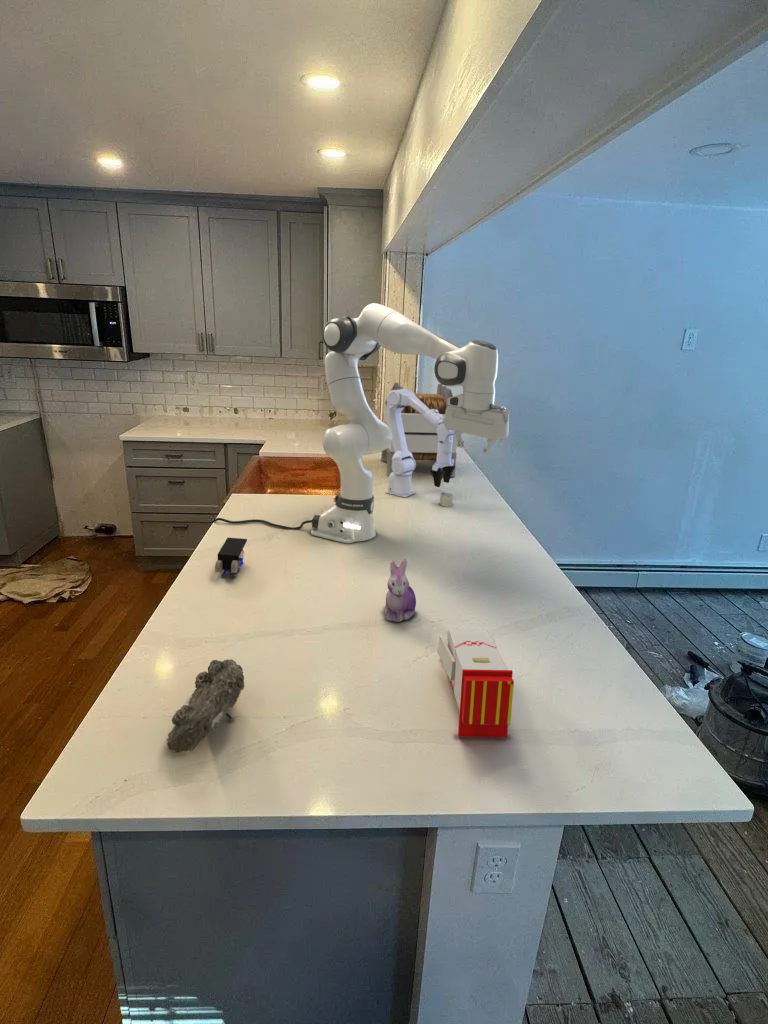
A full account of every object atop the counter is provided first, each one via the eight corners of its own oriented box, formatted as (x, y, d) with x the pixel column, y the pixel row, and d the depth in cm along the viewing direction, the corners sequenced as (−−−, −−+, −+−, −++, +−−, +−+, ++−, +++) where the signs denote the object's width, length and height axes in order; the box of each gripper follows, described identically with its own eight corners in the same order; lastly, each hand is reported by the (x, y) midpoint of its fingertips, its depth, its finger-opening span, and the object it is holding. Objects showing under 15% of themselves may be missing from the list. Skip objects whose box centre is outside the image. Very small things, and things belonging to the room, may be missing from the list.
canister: (448, 507, 229) (449, 497, 228) (437, 505, 231) (438, 494, 230) (453, 504, 233) (454, 494, 232) (442, 501, 236) (443, 491, 234)
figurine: (392, 627, 141) (395, 572, 136) (374, 608, 149) (376, 556, 144) (425, 619, 145) (429, 566, 140) (405, 601, 154) (408, 550, 149)
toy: (488, 613, 130) (523, 677, 101) (484, 667, 133) (517, 744, 104) (435, 612, 130) (455, 676, 101) (432, 666, 133) (451, 743, 103)
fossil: (192, 660, 117) (244, 628, 112) (224, 691, 120) (276, 661, 115) (142, 746, 98) (202, 712, 93) (182, 779, 101) (242, 748, 96)
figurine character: (238, 584, 162) (249, 557, 175) (236, 562, 158) (247, 536, 172) (215, 584, 161) (227, 556, 175) (212, 561, 158) (225, 535, 171)
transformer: (380, 458, 298) (383, 379, 285) (441, 459, 302) (447, 381, 288) (387, 476, 267) (391, 388, 253) (455, 477, 270) (463, 391, 257)
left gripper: (516, 406, 154) (510, 455, 158) (456, 396, 167) (452, 442, 172) (503, 408, 149) (497, 459, 154) (442, 397, 163) (439, 444, 167)
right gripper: (444, 456, 217) (441, 490, 221) (461, 450, 228) (458, 482, 233) (428, 453, 220) (426, 486, 225) (446, 447, 232) (443, 479, 236)
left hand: (473, 450), depth 163 cm, fingers open, 8 cm apart
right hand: (441, 484), depth 229 cm, fingers open, 7 cm apart
